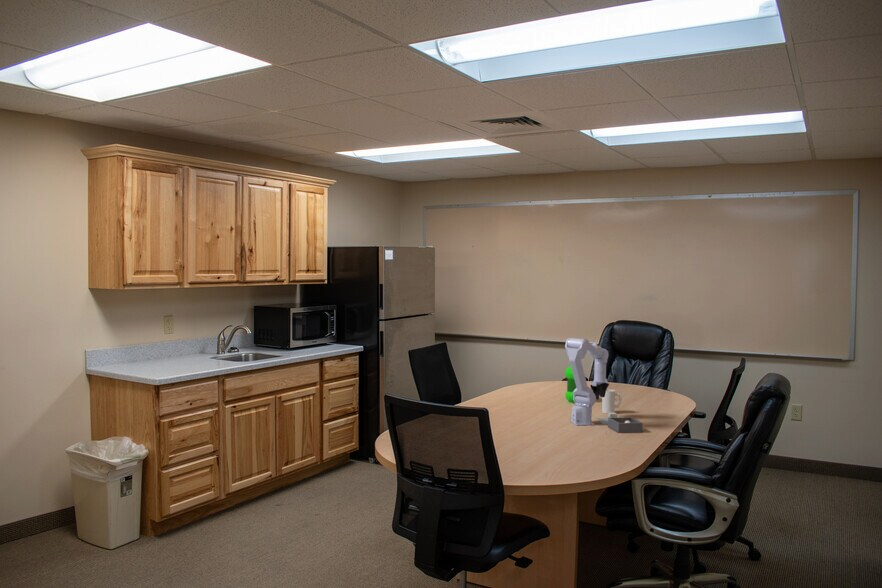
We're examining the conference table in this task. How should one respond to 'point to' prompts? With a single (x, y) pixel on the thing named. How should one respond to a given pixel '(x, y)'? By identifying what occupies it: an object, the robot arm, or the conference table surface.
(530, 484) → the conference table surface
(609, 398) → the mug
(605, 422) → the bin lid
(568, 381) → the plastic bottle
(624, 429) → the bin
